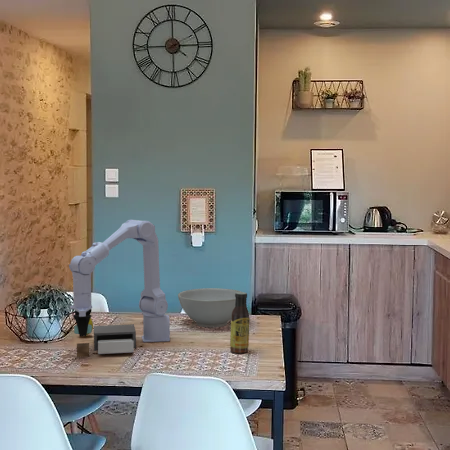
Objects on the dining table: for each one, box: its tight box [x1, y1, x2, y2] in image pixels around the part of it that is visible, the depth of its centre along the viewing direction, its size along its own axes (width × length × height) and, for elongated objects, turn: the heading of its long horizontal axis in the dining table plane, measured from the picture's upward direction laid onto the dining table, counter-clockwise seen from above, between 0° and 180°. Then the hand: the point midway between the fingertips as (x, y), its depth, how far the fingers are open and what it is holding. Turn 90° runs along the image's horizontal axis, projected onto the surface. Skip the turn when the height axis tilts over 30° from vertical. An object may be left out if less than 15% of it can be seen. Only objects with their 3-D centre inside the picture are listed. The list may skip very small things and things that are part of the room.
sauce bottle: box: [229, 291, 251, 354], centre depth 217 cm, size 6×6×20 cm
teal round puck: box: [73, 324, 93, 335], centre depth 212 cm, size 6×6×2 cm
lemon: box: [84, 317, 94, 337], centre depth 236 cm, size 6×6×8 cm
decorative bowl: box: [177, 287, 242, 329], centre depth 257 cm, size 27×27×12 cm
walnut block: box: [76, 342, 90, 358], centre depth 212 cm, size 4×4×4 cm
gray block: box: [93, 323, 137, 352], centre depth 224 cm, size 14×11×6 cm
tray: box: [97, 339, 134, 355], centre depth 215 cm, size 11×10×4 cm
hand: (83, 333), depth 212 cm, fingers closed on teal round puck, 6 cm apart
